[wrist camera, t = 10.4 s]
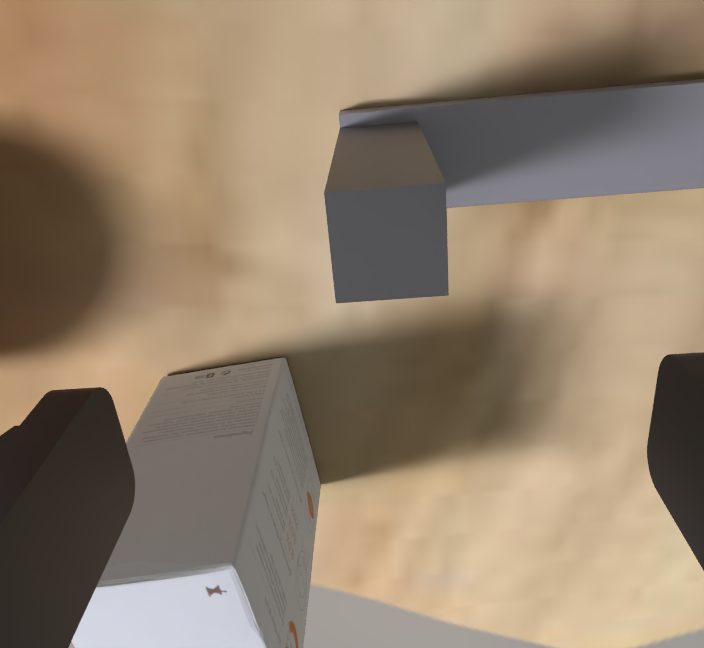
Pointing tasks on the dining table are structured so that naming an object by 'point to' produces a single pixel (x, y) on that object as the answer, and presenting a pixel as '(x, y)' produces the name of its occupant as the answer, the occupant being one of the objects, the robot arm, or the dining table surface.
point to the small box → (213, 518)
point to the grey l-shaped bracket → (492, 170)
